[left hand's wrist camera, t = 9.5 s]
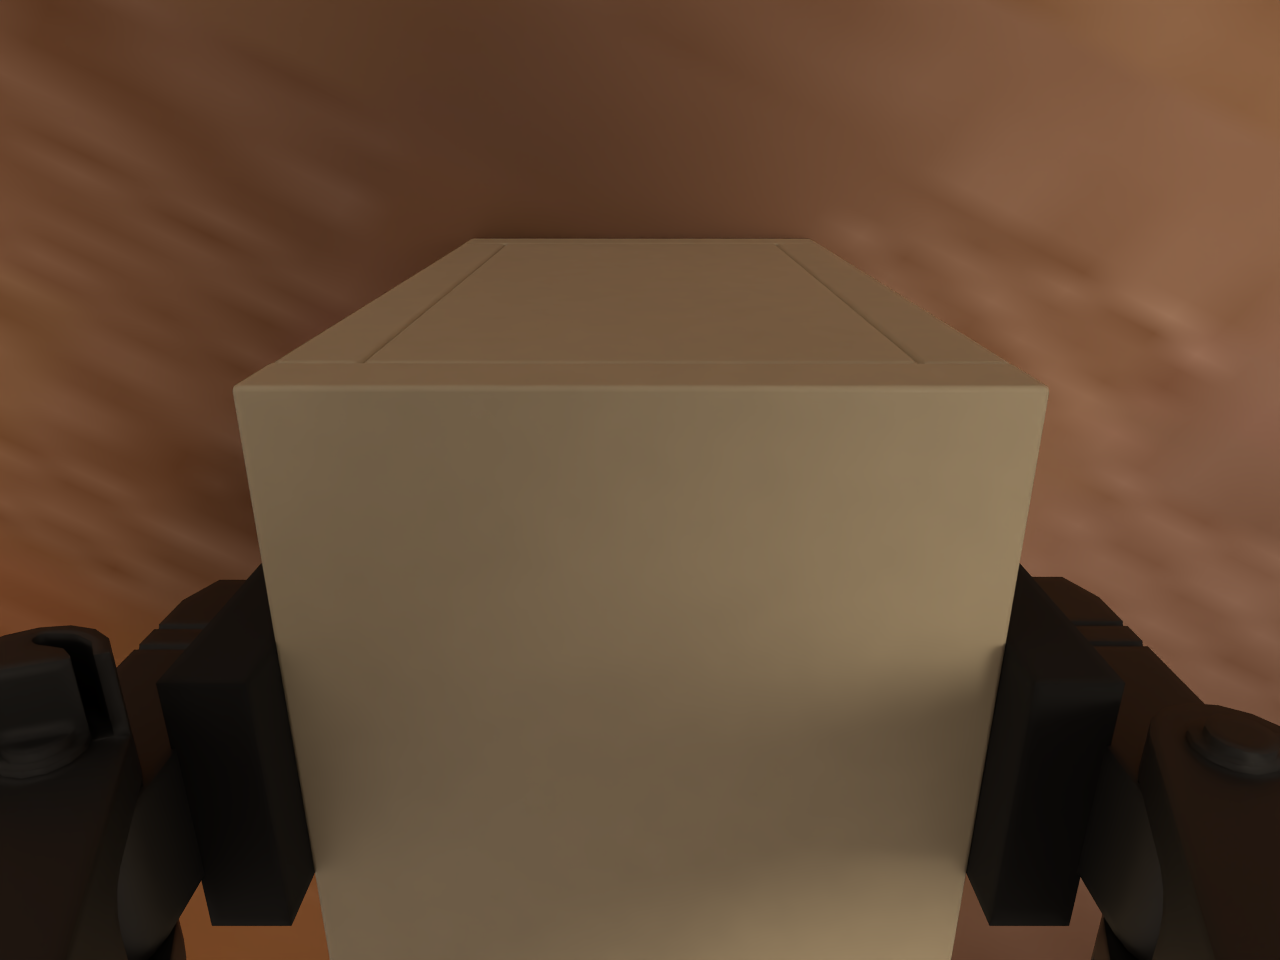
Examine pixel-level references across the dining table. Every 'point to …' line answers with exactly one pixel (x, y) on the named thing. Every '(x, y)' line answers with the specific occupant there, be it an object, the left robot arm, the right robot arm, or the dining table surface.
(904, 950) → the beige rectangular block
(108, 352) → the dining table surface
